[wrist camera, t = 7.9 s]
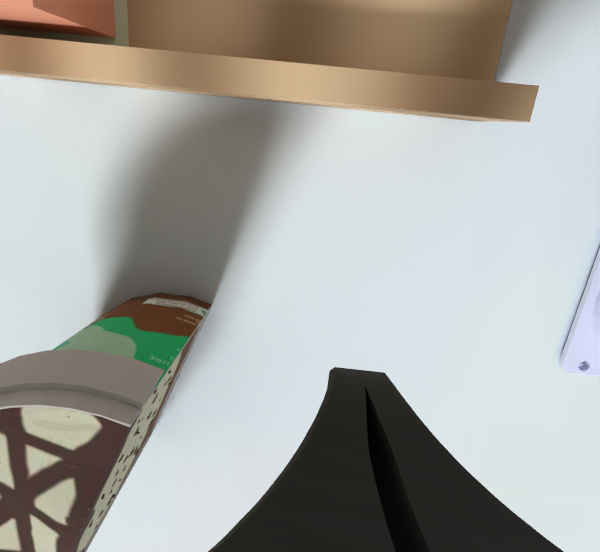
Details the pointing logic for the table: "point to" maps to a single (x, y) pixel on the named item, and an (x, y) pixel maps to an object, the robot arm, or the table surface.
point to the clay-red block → (60, 16)
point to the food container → (86, 419)
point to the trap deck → (295, 54)
